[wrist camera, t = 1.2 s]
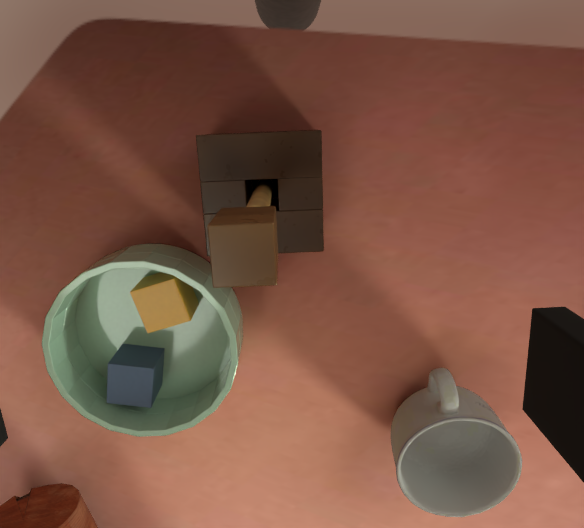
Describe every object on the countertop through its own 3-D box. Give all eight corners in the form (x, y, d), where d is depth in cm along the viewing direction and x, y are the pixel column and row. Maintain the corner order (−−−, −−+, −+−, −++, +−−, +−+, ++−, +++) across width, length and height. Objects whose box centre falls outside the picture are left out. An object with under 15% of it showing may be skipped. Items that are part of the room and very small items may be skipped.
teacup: (479, 459, 50) (514, 520, 42) (378, 461, 50) (395, 522, 42) (493, 340, 46) (535, 383, 39) (384, 342, 46) (403, 385, 38)
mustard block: (143, 277, 43) (129, 292, 39) (184, 264, 43) (174, 278, 39) (159, 315, 44) (147, 334, 40) (199, 303, 44) (191, 320, 40)
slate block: (122, 343, 45) (107, 363, 41) (164, 348, 45) (153, 368, 41) (121, 380, 46) (106, 403, 42) (162, 384, 46) (151, 408, 42)
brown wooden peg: (250, 170, 41) (206, 225, 18) (279, 169, 41) (273, 222, 18) (251, 199, 42) (212, 288, 19) (281, 198, 42) (277, 285, 19)
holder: (210, 133, 40) (195, 135, 34) (315, 129, 40) (321, 130, 34) (219, 236, 43) (207, 256, 36) (317, 232, 43) (323, 251, 36)
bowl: (59, 247, 43) (25, 265, 37) (236, 239, 43) (229, 257, 37) (88, 402, 47) (61, 440, 42) (248, 395, 47) (243, 432, 42)
